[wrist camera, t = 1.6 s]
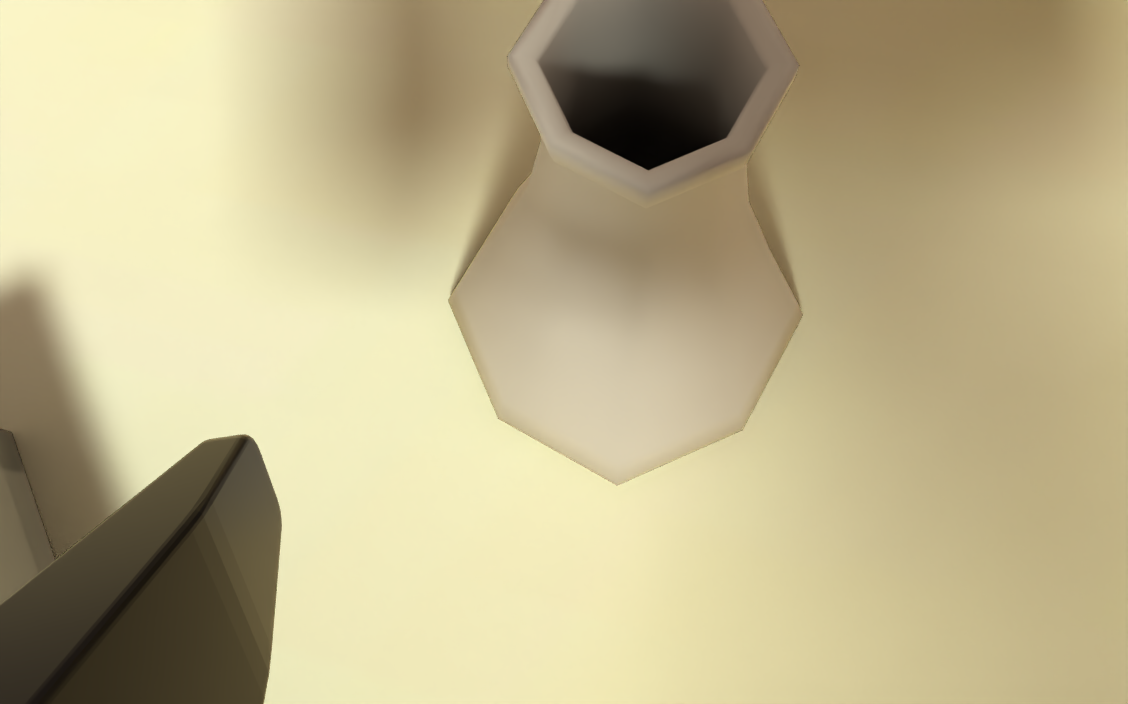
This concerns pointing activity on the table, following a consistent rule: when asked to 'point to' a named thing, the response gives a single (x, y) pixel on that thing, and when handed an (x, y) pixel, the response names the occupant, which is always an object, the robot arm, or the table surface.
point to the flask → (634, 234)
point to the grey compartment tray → (18, 524)
